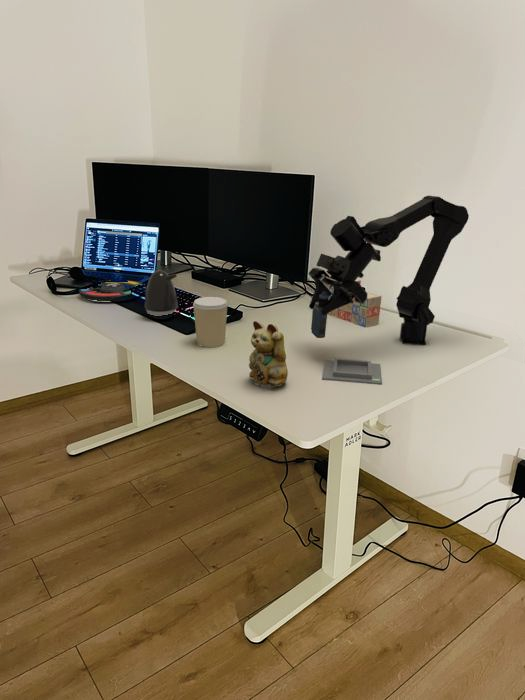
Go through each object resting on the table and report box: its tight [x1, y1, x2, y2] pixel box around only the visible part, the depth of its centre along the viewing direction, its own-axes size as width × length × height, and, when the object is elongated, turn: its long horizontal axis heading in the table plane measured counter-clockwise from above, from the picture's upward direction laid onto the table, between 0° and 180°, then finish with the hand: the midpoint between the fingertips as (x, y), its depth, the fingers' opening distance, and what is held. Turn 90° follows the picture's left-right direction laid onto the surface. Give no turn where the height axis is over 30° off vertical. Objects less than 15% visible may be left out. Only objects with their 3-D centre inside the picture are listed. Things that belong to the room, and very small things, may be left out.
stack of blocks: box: [327, 274, 383, 328], centre depth 174 cm, size 21×6×12 cm, turn 37°
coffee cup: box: [192, 296, 228, 348], centre depth 149 cm, size 9×9×12 cm
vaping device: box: [310, 291, 329, 339], centre depth 137 cm, size 3×5×12 cm, turn 17°
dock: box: [321, 357, 383, 385], centre depth 133 cm, size 14×12×2 cm
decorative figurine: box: [248, 320, 289, 390], centre depth 125 cm, size 10×8×15 cm
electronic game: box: [78, 280, 144, 301], centre depth 195 cm, size 23×23×5 cm
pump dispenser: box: [144, 269, 179, 316], centre depth 169 cm, size 10×10×15 cm
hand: (316, 310), depth 136 cm, fingers closed on vaping device, 5 cm apart
